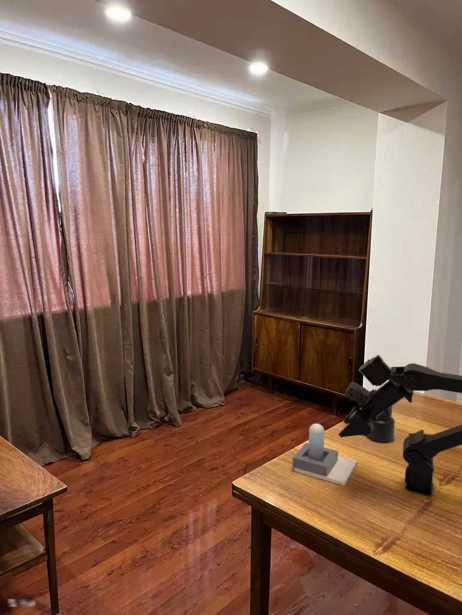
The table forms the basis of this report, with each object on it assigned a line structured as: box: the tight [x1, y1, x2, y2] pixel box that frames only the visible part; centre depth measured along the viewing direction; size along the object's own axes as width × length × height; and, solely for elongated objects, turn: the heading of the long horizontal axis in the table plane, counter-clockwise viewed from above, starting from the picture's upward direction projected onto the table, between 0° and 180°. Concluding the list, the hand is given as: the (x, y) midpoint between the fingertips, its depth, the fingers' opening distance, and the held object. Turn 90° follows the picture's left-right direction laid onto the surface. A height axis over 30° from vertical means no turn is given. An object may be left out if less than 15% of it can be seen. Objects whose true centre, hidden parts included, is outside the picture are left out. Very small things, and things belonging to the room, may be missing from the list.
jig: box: [292, 442, 358, 487], centre depth 131 cm, size 16×13×4 cm
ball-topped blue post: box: [308, 423, 325, 462], centre depth 131 cm, size 4×4×12 cm
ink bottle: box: [366, 406, 396, 443], centre depth 149 cm, size 10×9×12 cm
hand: (342, 428), depth 127 cm, fingers open, 9 cm apart
